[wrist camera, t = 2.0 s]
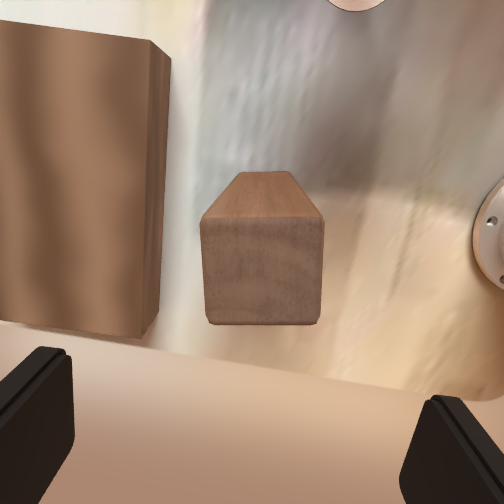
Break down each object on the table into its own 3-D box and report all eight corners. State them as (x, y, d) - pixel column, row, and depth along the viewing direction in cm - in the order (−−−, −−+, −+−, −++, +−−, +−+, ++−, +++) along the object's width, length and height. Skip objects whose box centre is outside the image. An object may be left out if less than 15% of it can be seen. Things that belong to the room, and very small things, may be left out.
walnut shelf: (170, 58, 27) (99, -5, 15) (158, 310, 33) (102, 398, 22) (-9, 34, 27) (-215, -47, 15) (15, 291, 33) (-115, 369, 22)
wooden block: (289, 271, 32) (316, 423, 15) (240, 271, 32) (211, 422, 15) (291, 170, 29) (326, 213, 12) (237, 171, 29) (196, 215, 12)
